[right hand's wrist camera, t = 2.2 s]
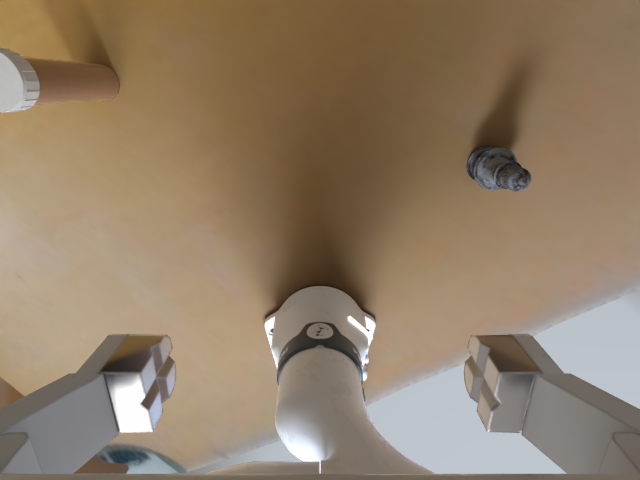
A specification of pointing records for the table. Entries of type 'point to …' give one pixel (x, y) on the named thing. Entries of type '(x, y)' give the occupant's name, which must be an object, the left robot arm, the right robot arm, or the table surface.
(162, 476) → the right robot arm
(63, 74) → the tan cylinder
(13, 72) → the lid
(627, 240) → the table surface
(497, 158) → the grey stone chess piece
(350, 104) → the table surface
